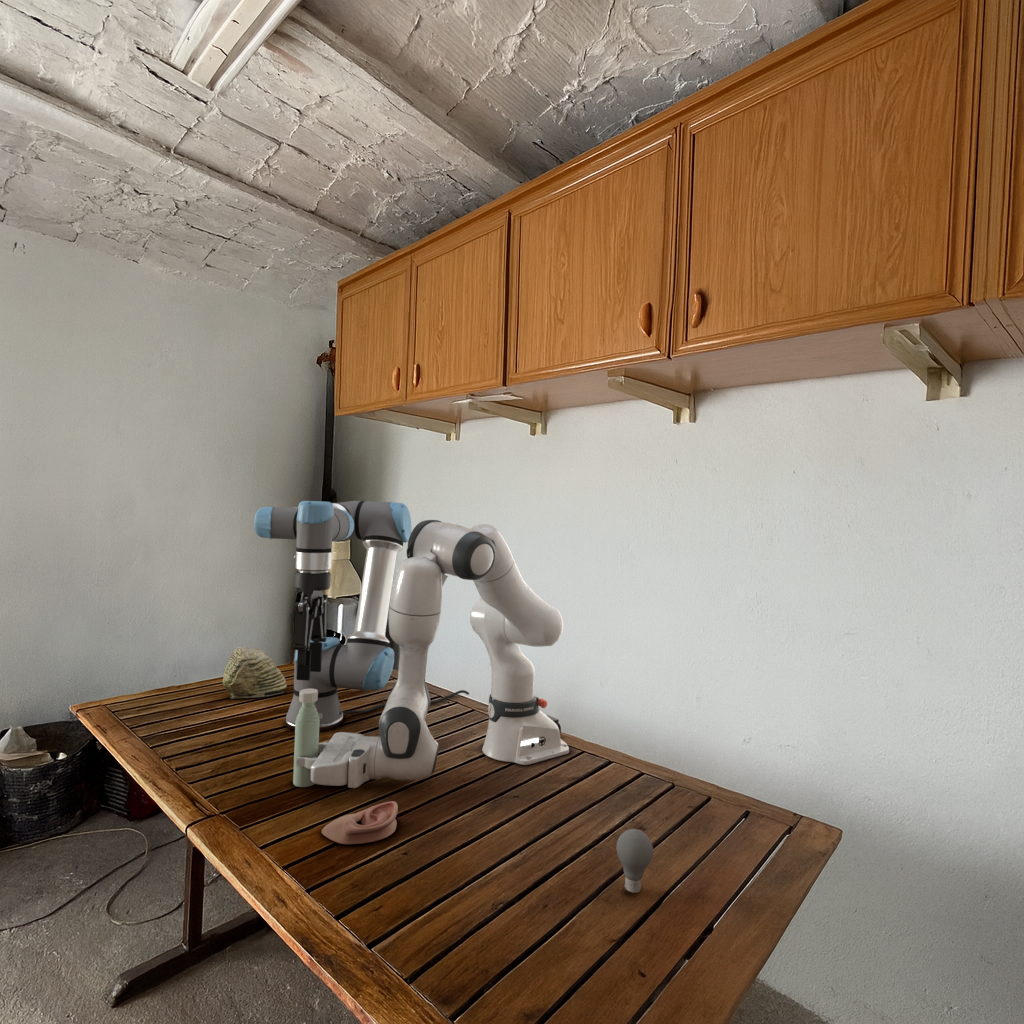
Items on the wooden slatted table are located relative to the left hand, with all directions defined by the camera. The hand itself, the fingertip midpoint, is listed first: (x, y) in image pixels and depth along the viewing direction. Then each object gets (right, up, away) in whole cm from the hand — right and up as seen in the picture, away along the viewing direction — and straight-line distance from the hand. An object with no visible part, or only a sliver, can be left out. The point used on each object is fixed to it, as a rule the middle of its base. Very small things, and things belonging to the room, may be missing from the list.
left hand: (309, 675), depth 140 cm
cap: (0, -4, 0) cm, 4 cm away
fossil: (-36, -21, +58) cm, 72 cm away
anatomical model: (+16, -25, -19) cm, 35 cm away
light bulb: (+65, -27, -34) cm, 78 cm away
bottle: (-1, -24, +1) cm, 24 cm away
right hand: (-2, -18, 0) cm, 18 cm away
